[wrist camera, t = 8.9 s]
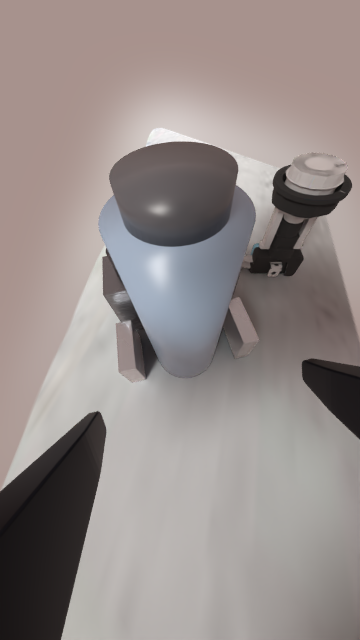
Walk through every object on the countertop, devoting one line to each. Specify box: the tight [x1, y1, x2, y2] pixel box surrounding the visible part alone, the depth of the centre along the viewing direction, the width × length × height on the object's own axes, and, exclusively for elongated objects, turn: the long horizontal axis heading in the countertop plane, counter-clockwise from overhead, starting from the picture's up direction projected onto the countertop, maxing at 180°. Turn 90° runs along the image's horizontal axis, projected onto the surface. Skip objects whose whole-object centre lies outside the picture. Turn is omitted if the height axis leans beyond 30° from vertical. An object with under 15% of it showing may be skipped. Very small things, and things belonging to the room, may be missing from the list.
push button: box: [241, 153, 352, 277], centre depth 18 cm, size 7×5×10 cm
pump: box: [99, 142, 256, 378], centre depth 12 cm, size 5×5×14 cm
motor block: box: [102, 248, 259, 383], centre depth 16 cm, size 9×10×8 cm
